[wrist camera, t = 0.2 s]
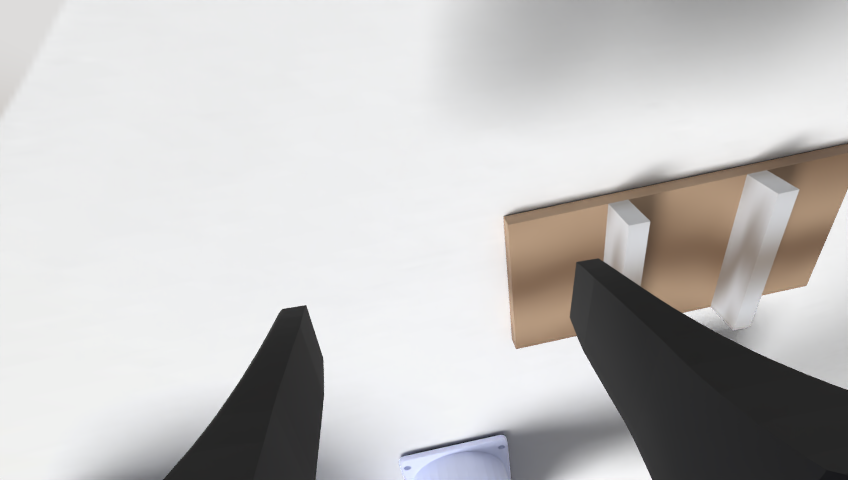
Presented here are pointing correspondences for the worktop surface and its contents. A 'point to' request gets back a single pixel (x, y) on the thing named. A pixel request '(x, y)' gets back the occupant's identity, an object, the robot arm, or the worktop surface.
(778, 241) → the end holder
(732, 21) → the worktop surface
